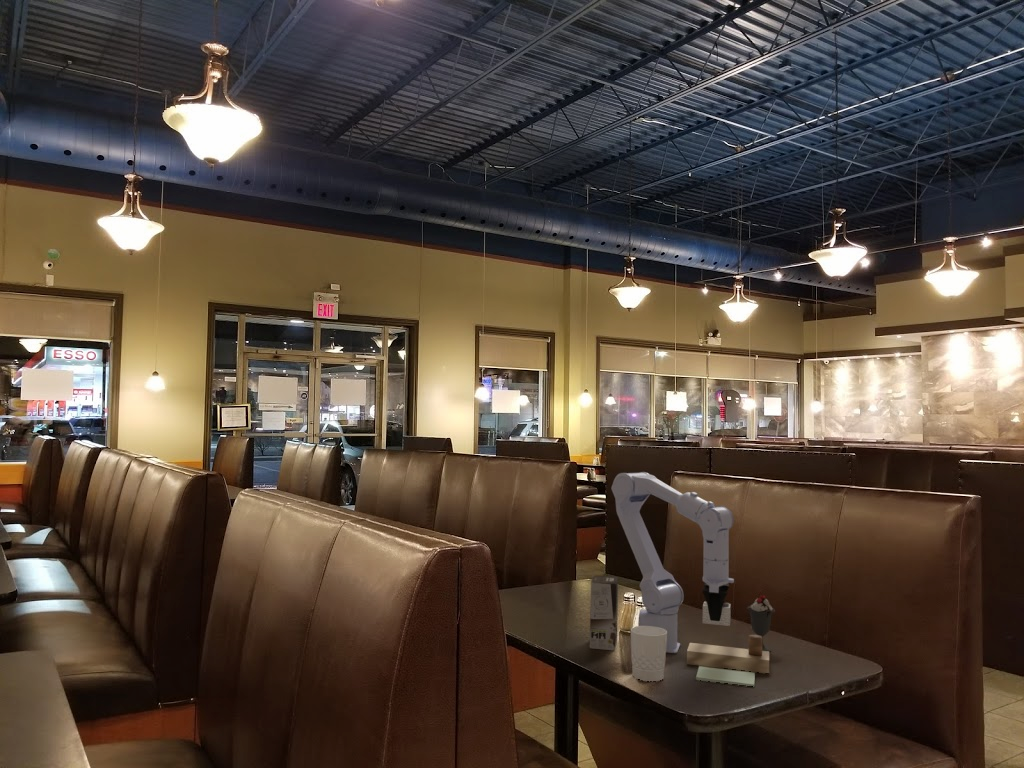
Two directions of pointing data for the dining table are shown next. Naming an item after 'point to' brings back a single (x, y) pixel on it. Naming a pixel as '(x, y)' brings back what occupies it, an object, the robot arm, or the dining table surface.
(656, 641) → the white cup
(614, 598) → the coffee box
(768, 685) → the dining table surface
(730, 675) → the board
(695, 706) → the dining table surface
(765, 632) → the sundae
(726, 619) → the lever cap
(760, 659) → the panel with round knob
